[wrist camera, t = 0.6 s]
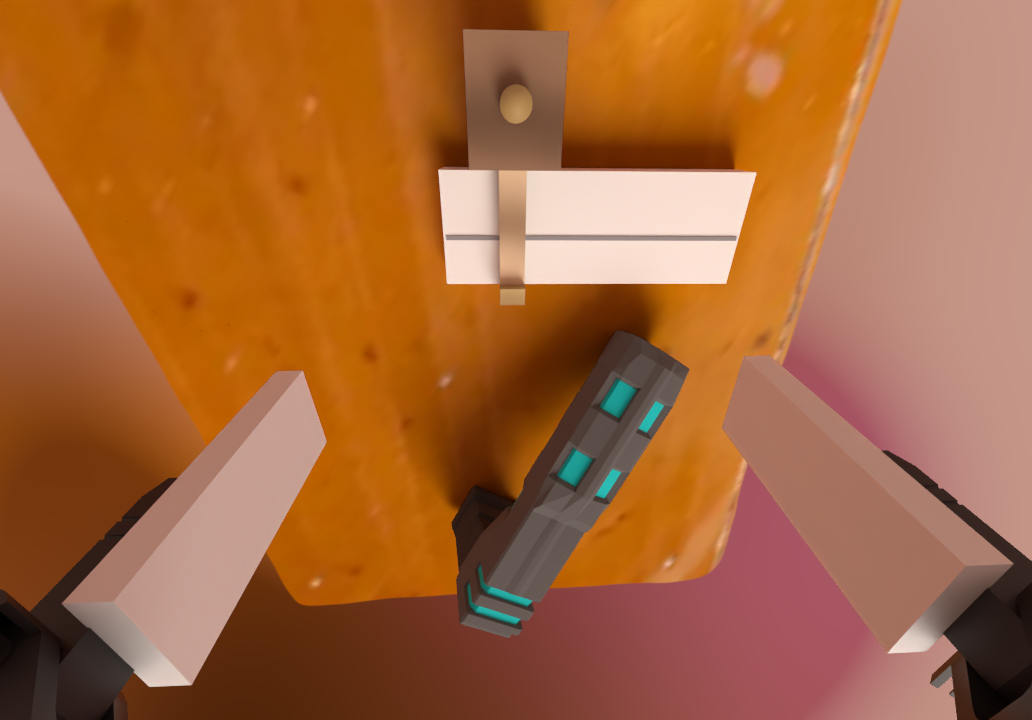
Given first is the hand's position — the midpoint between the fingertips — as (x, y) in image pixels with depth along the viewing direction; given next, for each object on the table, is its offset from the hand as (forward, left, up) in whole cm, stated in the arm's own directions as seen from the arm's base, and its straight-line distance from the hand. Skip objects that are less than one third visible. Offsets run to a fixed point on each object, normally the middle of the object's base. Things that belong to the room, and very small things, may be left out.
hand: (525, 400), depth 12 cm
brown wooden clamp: (-4, 0, -23) cm, 23 cm away
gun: (+21, +4, -23) cm, 32 cm away
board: (-1, +6, -23) cm, 24 cm away
